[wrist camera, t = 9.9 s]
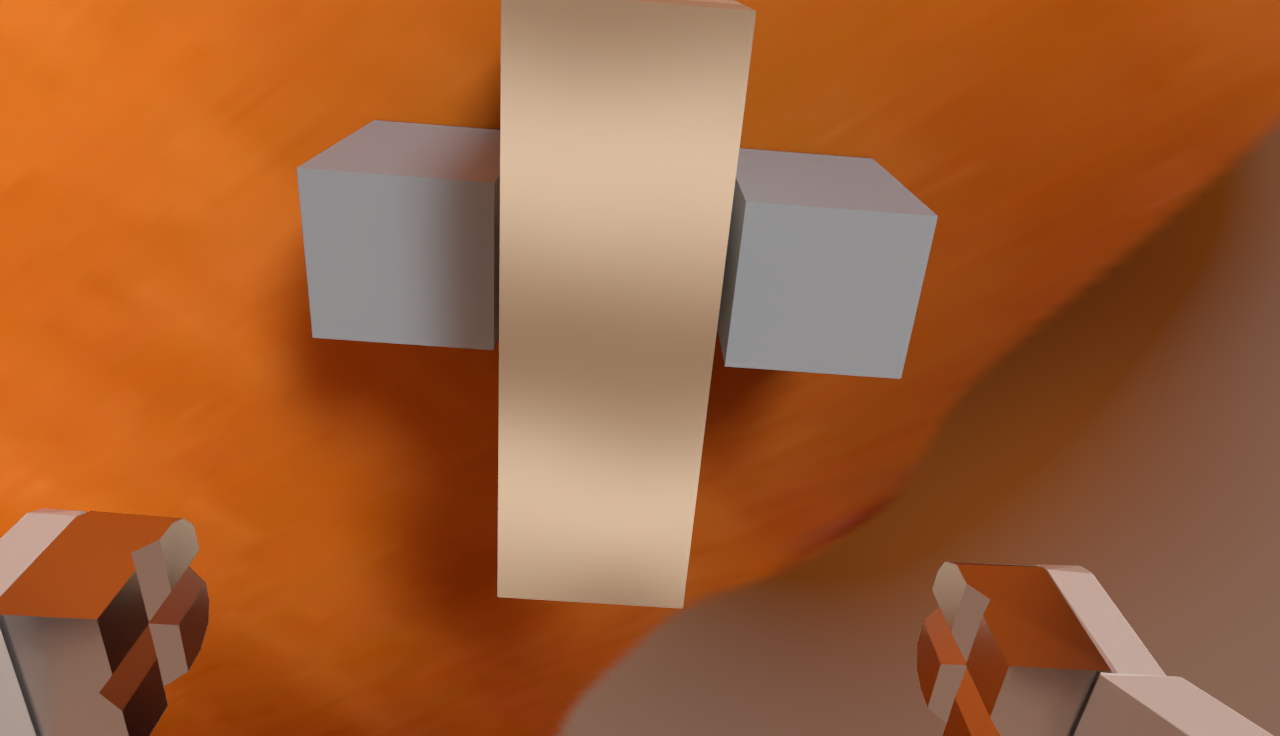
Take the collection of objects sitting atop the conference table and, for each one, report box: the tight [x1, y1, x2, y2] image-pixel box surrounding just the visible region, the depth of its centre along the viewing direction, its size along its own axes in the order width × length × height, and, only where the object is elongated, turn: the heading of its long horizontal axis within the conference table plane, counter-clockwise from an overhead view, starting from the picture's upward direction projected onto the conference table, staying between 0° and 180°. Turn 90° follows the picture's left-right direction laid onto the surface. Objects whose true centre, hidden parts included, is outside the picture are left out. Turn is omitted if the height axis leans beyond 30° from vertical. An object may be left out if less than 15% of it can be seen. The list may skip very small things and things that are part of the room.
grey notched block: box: [297, 120, 938, 379], centre depth 22 cm, size 14×4×6 cm, turn 86°
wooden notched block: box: [497, 0, 756, 608], centre depth 21 cm, size 12×4×10 cm, turn 176°
